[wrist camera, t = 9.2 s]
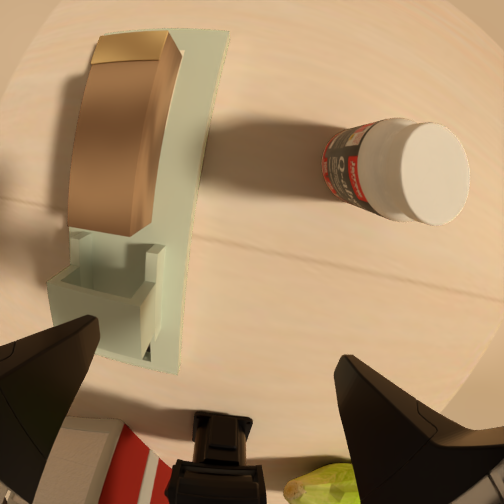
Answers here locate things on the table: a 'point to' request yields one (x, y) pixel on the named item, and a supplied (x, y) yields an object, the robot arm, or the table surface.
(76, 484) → the red striped block
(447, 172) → the pill bottle
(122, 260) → the tunnel deck
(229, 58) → the table surface
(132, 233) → the brown rectangular block
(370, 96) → the table surface
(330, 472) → the lettuce
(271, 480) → the table surface
